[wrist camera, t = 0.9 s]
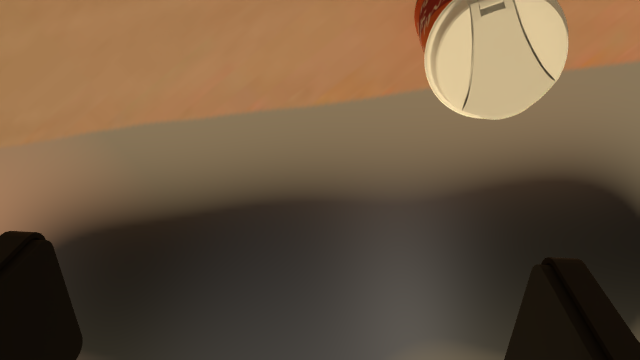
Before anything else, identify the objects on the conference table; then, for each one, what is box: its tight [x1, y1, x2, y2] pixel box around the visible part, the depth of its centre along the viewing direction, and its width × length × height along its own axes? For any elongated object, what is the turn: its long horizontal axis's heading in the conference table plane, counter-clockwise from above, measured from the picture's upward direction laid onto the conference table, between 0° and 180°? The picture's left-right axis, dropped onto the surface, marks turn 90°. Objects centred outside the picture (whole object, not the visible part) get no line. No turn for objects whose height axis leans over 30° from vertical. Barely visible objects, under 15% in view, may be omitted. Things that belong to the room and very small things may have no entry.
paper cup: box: [414, 0, 568, 120], centre depth 31 cm, size 8×8×14 cm
